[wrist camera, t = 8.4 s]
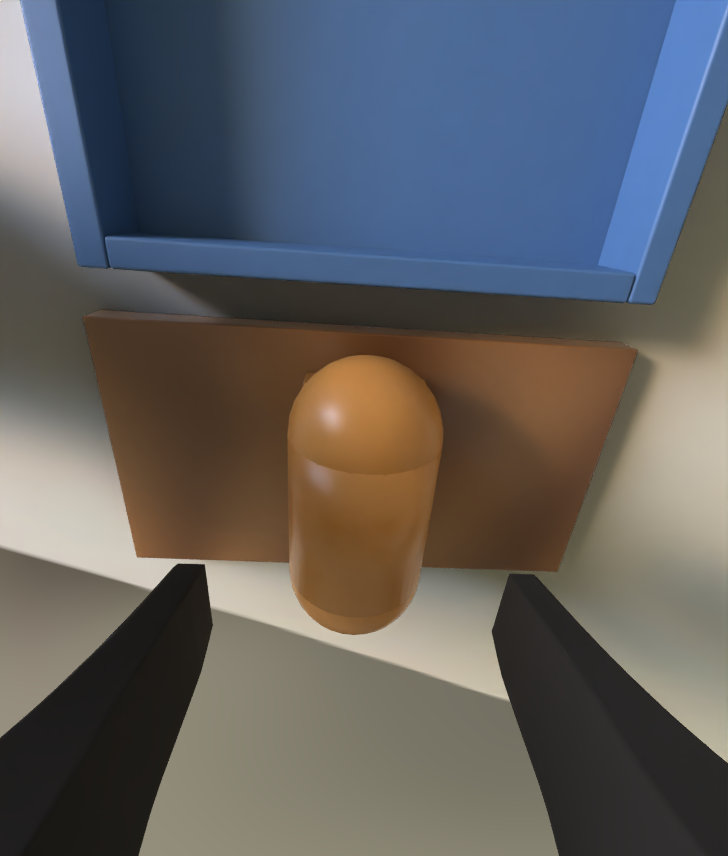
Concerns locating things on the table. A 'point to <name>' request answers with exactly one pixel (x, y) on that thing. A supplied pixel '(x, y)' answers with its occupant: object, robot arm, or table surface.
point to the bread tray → (384, 138)
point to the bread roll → (360, 490)
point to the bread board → (269, 418)
